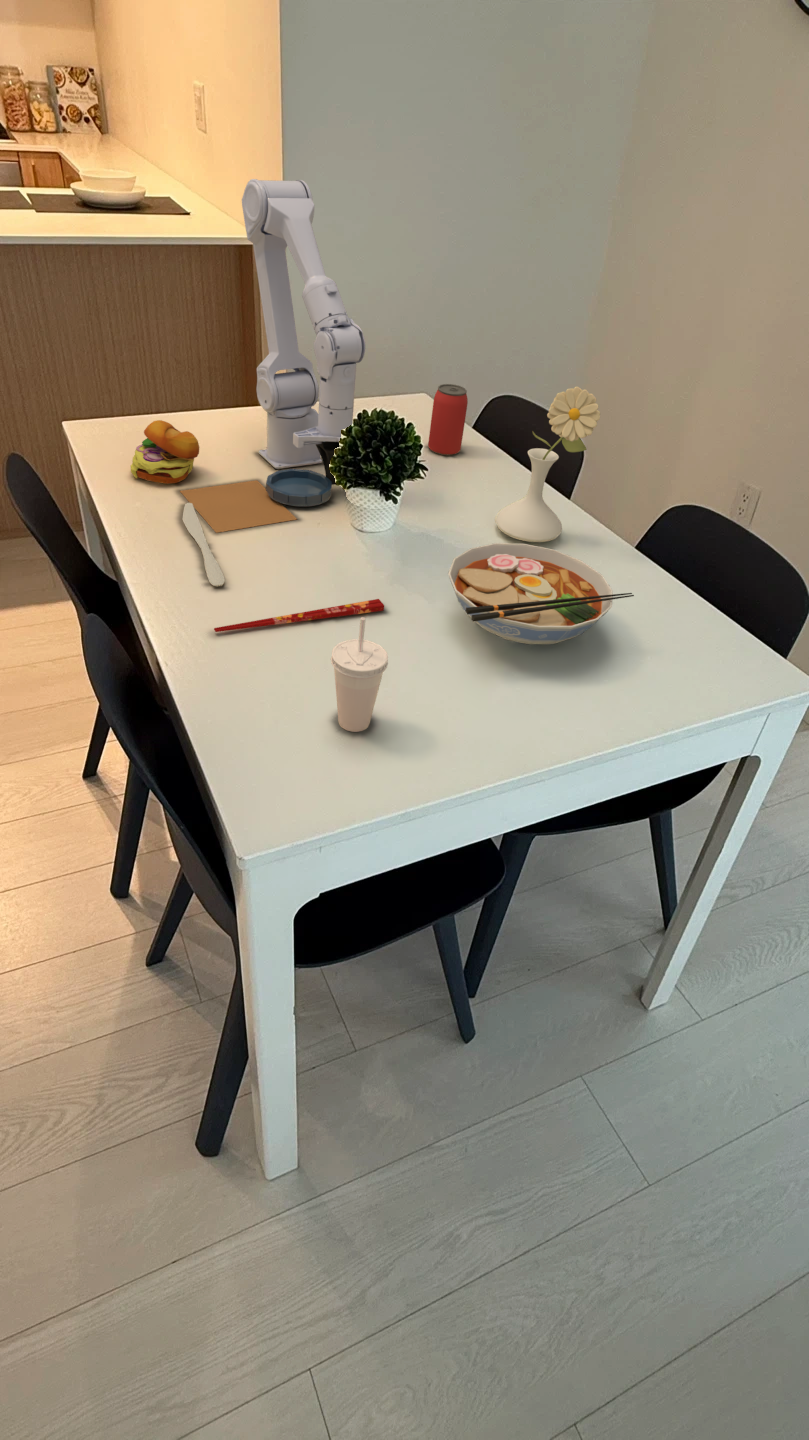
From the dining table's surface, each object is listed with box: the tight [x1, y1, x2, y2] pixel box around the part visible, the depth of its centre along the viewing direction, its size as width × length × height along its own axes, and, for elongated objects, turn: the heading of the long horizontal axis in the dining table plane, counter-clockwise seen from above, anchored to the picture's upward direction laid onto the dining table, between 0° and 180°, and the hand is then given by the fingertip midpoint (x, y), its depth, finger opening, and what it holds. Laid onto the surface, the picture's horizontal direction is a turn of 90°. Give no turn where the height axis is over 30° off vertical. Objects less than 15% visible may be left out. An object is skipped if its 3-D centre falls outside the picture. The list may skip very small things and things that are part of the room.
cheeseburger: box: [130, 419, 200, 485], centre depth 148 cm, size 10×11×10 cm
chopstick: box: [213, 598, 385, 633], centre depth 118 cm, size 2×24×1 cm, turn 116°
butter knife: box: [181, 502, 226, 587], centre depth 132 cm, size 1×27×3 cm
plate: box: [265, 468, 333, 507], centre depth 148 cm, size 11×11×2 cm
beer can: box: [427, 383, 469, 456], centre depth 169 cm, size 7×7×12 cm
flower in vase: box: [494, 386, 601, 543], centre depth 139 cm, size 13×11×25 cm
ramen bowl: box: [447, 542, 635, 645], centre depth 120 cm, size 25×23×8 cm
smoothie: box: [330, 616, 389, 733], centre depth 98 cm, size 6×6×14 cm
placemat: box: [179, 479, 298, 534], centre depth 144 cm, size 14×16×1 cm
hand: (332, 482), depth 151 cm, fingers closed
